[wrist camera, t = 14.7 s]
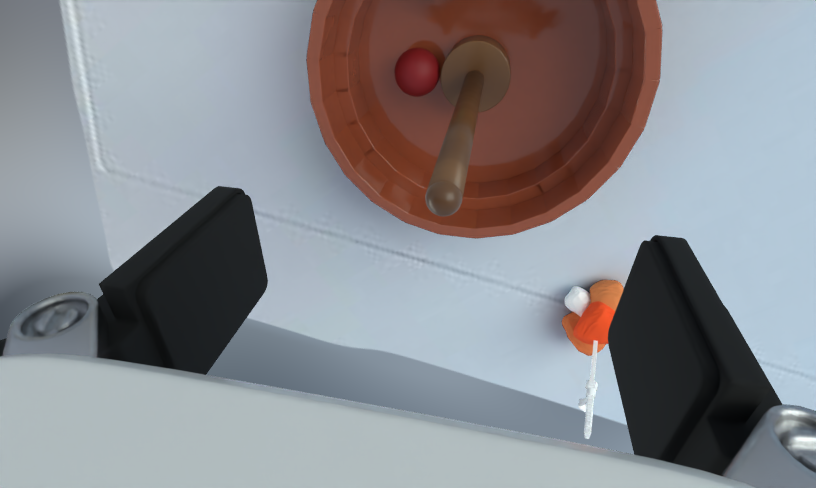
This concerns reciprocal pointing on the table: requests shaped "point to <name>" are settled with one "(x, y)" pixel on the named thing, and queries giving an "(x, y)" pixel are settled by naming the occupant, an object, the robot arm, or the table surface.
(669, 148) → the table surface
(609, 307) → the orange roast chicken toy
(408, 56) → the red bead
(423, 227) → the bowl
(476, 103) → the wooden masher
